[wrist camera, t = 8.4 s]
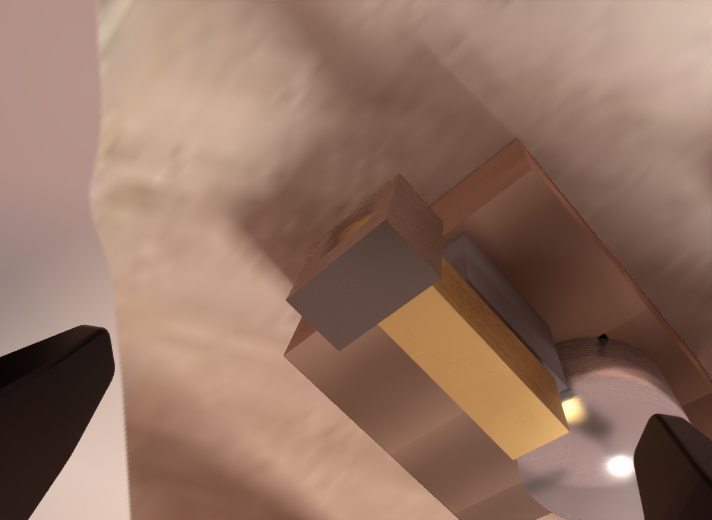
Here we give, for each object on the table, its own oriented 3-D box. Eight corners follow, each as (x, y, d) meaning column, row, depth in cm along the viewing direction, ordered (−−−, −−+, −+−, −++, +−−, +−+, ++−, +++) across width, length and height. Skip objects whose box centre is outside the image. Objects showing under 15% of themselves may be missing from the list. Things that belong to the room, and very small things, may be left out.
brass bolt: (574, 367, 14) (603, 453, 11) (488, 414, 15) (496, 503, 12) (399, 173, 12) (386, 219, 10) (318, 242, 14) (285, 300, 11)
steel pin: (658, 348, 21) (740, 484, 15) (548, 407, 23) (581, 546, 17) (583, 258, 20) (639, 367, 14) (474, 328, 22) (483, 448, 16)
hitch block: (697, 358, 21) (801, 508, 15) (479, 468, 26) (488, 620, 20) (516, 138, 19) (550, 206, 12) (308, 302, 23) (255, 414, 17)
